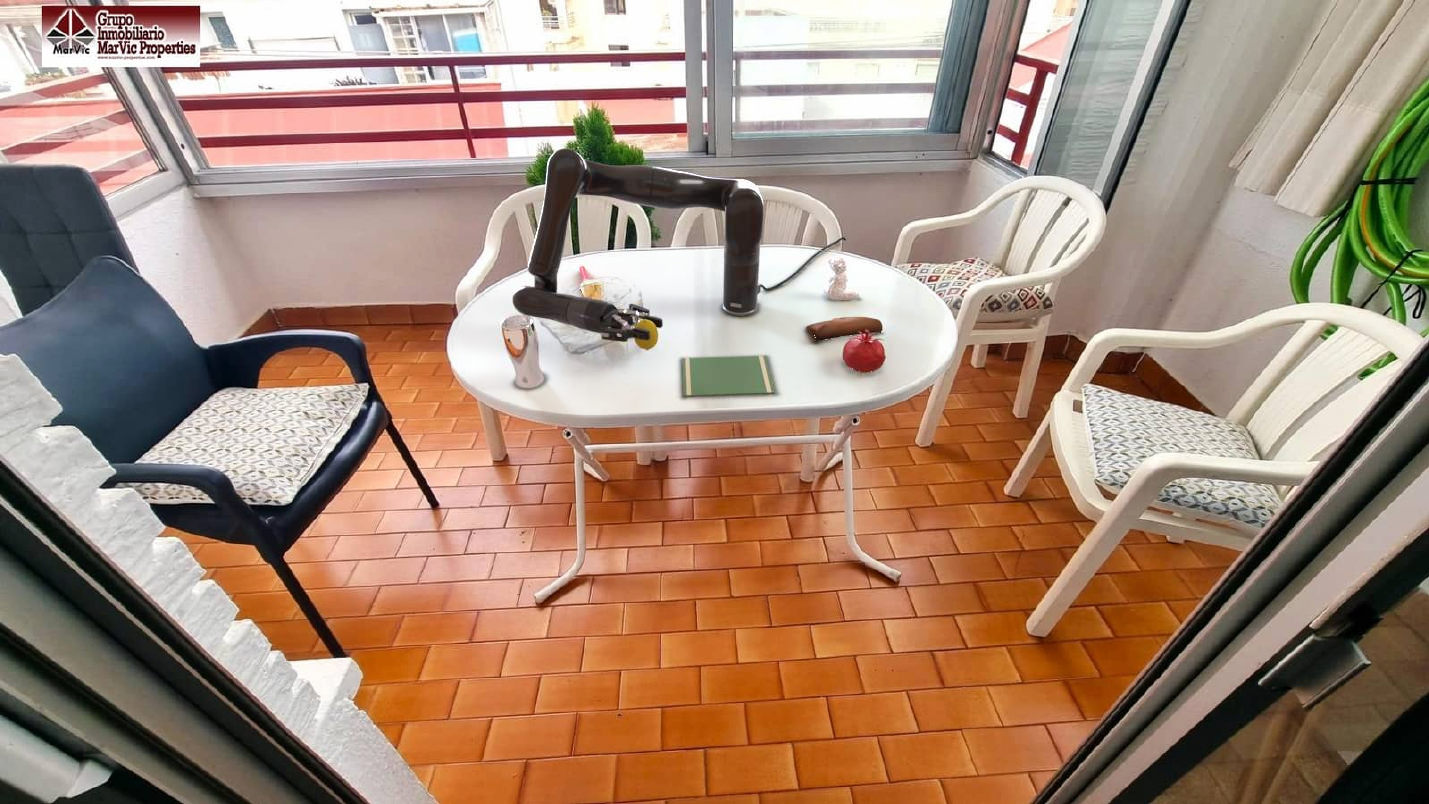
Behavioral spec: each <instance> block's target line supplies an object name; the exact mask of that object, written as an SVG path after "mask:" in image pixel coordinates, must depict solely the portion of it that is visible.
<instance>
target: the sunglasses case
mask: <svg viewBox="0 0 1429 804" xmlns="http://www.w3.org/2000/svg"><path fill="white" fill-rule="evenodd" d="M805 329H806V332H807V333H808V335H809V337H810V339H811V340H812V341H813V342H814V343H817V342H822V341H826V340H825V339H828V340H832V339H831V338H833V339H838V338H842V337H851V336H850V335H852V336H858V335H861V334H860V333H859V332H862V333H863V334H864V335H865V330H869V334H872V333H874V334H876V333H880V334H882V332H883V329H884V327H883V323H882V321H880V319H878V318H874V317H869V316H868V317H867V316H841V317H834V318H832V319H831V320H824V321H819V322H814V323H810V324H808V325H807V326H806V327H805ZM858 331H859V332H858ZM881 331H882V332H881ZM875 332H876V333H875ZM814 335H815V336H814ZM815 337H816V338H815ZM819 340H820V341H819Z"/></svg>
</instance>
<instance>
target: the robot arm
mask: <svg viewBox="0 0 1429 804" xmlns="http://www.w3.org/2000/svg"><path fill="white" fill-rule="evenodd" d="M577 196H593V197H606V198H610V199H615V200H619V201H622V202H626V203H631V204H635V205H639V206H644V207H647V208H649V207H650V208H656V209H662V210H684V209H691V208H706V209H712V210H716V211H721V212H724V238H723V293H722V294H723V295H722V296H723V297H722V298H723V299H722V301H723V302H722V310H723V311H724V312H725V313H726V314H727V315H731V316H735V317H746V316H747V317H748V316H751V315H753V314H754V313H756V312H757V311H758V295H759V294H760V293H761V289H762V290H764V291H766V292H767V291H772V290H774V289H777V288H779V287H780V286H782V285H784V284H785V283H787V282H788V281H790V280H791V279H793V278H794V277H795V276H796V275H797V274H798V273H799V272H801V271H802V269H803V268H805V267H806V266H807V265H808V264H809V263H810V262H811V261H812V260H813V259H814V258H815V257H817V256H818V255H819V254H821V253H822V252H823V251H825V250H827V249H828V248H830V247H833V246H834V245H837V243H839V242H841V241H847V239H846V238H845V236H843V237H842V236H841V237H840V238H838V239H837V240H836V241H834V242H832V243H829V244H828V245H826V246H823V248H821V249H820V250H823V251H819V250H818V251H817V252H815V253H814V254H813V255H812V256H811V257H809V258H808V259H807V260H806V261H805V262H804V263H803V264H802V265H801V266H800V267H799V268H798V269H797V270H795V271H794V272H793V273H792V274H791V275H789V276H788V277H786V279H784V280H782V281H780V282H779V283H777V284H775V285H774V286H770V287H766V286H765V285H764V284H762V283H759V273H760V257H761V255H760V253H761V242H762V237H763V225H764V209H765V208H764V200H763V197H762V195H761V192H760V190H759V188H758V186H757V185H756V184H755V183H754V182H751V181H750V180H747V179H739V178H718V177H708V176H702V175H698V174H694V173H690V172H687V171H686V172H685V171H679V170H675V169H671V168H666V167H661V166H653V165H644V164H629V165H609V164H604V163H600V162H595V161H591V160H588V159H585V158H583V156H581V154H580V153H578V151H576V150H574V149H572V148H560V149H558V150H555V151H554V152H553V153H552V154H551V155H550V157H549V158H548V159H547V164H546V177H545V190H544V197H543V203H542V204H543V205H542V209H541V214H540V218H539V223H538V225H537V230H536V234H535V237H534V241H533V244H532V249H531V251H530V256H529V260H528V264H527V271H528V273H529V274H530V275H531V276H533V278H534V283H533V285H534V286H531V285H523V286H520V287H519V288H517V289H516V290H515V291H514V293H513V295H512V305H513V307H514V309H515V310H516V311H517V312H518V313H520V315H527V316H530V317H531V318H537V319H544V320H550V321H554V322H557V323H560V324H565V325H568V326H572V327H575V328H578V329H581V330H584V331H587V332H588V331H589V332H593V333H597V334H601V335H600V336H601V339H602V340H604V341H612V342H621V343H626V342H628V339H630V340H632V339H634V338H637V339H642V340H649V339H650V332H649V331H648V330H644V329H640V328H635V326H636V324H637V323H638V322H639V321H641V320H644V319H646V320H650V321H652V322H653V323H654V324H655V325H656V327H657V329H661V328H662V327H663V323H664V322H663V319H662V318H661V317H657V316H654V315H653V316H652V315H651V314H650V313H651V312H650V309H649V308H646V307H643V306H641V305H638V304H635V303H629V304H628V308H627V309H626V308H618V307H616V305H615V304H614V303H613V302H610V301H605V300H600V299H596V298H595V299H592V298H588V297H587V296H577V295H573V294H568V293H559V292H558V273H559V269H560V266H561V263H562V258H563V254H564V251H565V245H566V239H567V233H568V232H567V231H568V225H569V218H570V216H571V215H570V214H571V210H572V208H573V205H574V202H575V199H576V197H577ZM619 335H620V336H619Z"/></svg>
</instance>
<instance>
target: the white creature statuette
mask: <svg viewBox="0 0 1429 804" xmlns="http://www.w3.org/2000/svg"><path fill="white" fill-rule="evenodd" d="M827 263H828V264H829V267H830V269H831V270H832V272H831V273H830V275H829V276H828V281H827V282H826V284H825V286H824V289H823V293H824V297H826V298H827V299H829V300H831V301H848V300H849V301H850V300H857V299H858V298H859V297H860V293H859V292H858V291H856V290H855V289H853V288H852V289H848V286H847V283H848V278H847V277H848V276H847V274H846V271H847V266H846V264H847V263H846V261H845V260H844V257H843V256H842V255H837V256H836V255H835V256H834V257H833V258H831V257H828V260H827ZM855 296H858V297H855Z"/></svg>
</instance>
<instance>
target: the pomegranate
mask: <svg viewBox="0 0 1429 804" xmlns="http://www.w3.org/2000/svg"><path fill="white" fill-rule="evenodd" d="M858 332H859V331H858ZM859 333H860V334H858V335H855V336H854V337H852V338H849V339H848V340H847V342H846V343H844V345H843V348H842V360H843V362H844V361H845V362H844V363H845V365H846V366H847V367H848V369H849V368H850V369H851V370H853V371H855V372H858V373H861V374H867V373H868V374H869V373H874V372H876V371H878V370H879V369H880V368H882V367H883V366H884V363H885V361H886V359H887V356H886V352H885V351H886V350H885V347H884V345H883V343H882V342H883V341H885V340H884V339H881V338H878V337H873V336H876V335H877V333H871V334H870V333H869V330H865V334H863V333H862V332H859ZM881 341H882V342H881ZM852 368H853V369H852ZM875 370H876V371H875ZM859 371H860V372H859ZM871 371H872V372H871Z"/></svg>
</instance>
